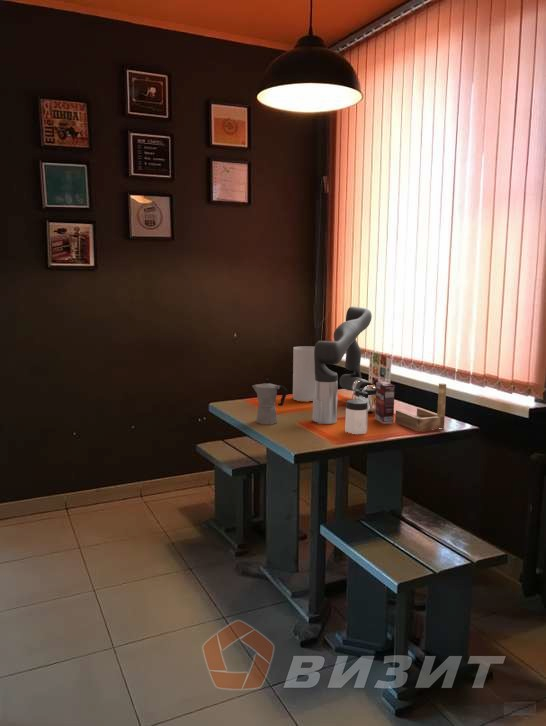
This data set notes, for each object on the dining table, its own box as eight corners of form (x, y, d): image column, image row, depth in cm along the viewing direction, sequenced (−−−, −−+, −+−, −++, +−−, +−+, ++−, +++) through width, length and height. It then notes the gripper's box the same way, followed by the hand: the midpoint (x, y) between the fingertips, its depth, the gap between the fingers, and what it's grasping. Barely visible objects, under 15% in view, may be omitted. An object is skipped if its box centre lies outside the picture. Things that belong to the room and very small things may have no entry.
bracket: (418, 431, 233) (420, 386, 230) (395, 422, 248) (397, 379, 245) (443, 429, 238) (446, 384, 235) (419, 419, 252) (421, 377, 249)
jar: (348, 435, 228) (349, 404, 226) (341, 429, 236) (342, 399, 234) (371, 433, 230) (372, 403, 228) (363, 428, 238) (364, 398, 236)
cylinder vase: (290, 397, 293) (291, 346, 289) (315, 396, 295) (316, 346, 291) (295, 403, 281) (296, 350, 277) (321, 402, 283) (323, 349, 279)
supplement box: (374, 418, 253) (375, 381, 250) (384, 418, 254) (386, 381, 251) (383, 424, 244) (384, 385, 242) (393, 423, 246) (395, 385, 243)
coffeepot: (247, 422, 245) (247, 379, 242) (256, 417, 253) (257, 375, 250) (282, 427, 239) (282, 382, 236) (291, 421, 247) (291, 378, 244)
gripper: (348, 380, 269) (361, 387, 254) (378, 379, 273) (392, 386, 257) (348, 396, 271) (360, 404, 255) (377, 395, 274) (392, 403, 258)
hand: (376, 395), depth 256 cm, fingers open, 8 cm apart
